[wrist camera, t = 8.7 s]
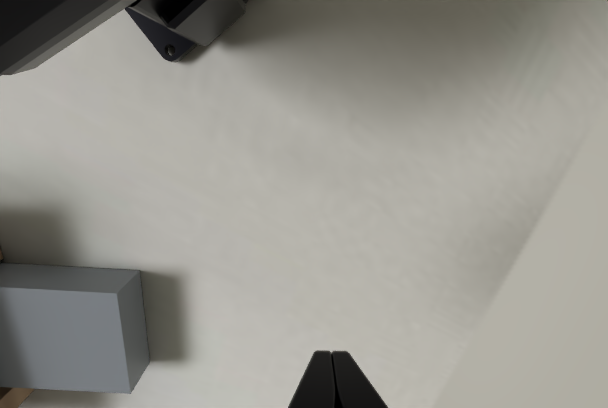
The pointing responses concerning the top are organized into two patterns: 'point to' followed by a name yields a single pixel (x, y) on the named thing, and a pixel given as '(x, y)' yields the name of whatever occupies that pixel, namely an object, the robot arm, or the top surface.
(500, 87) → the top surface
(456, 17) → the top surface
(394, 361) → the top surface
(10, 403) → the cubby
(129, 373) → the grey chamfered block
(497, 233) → the top surface
